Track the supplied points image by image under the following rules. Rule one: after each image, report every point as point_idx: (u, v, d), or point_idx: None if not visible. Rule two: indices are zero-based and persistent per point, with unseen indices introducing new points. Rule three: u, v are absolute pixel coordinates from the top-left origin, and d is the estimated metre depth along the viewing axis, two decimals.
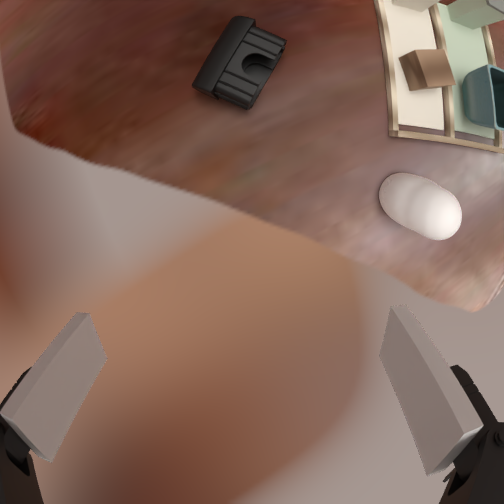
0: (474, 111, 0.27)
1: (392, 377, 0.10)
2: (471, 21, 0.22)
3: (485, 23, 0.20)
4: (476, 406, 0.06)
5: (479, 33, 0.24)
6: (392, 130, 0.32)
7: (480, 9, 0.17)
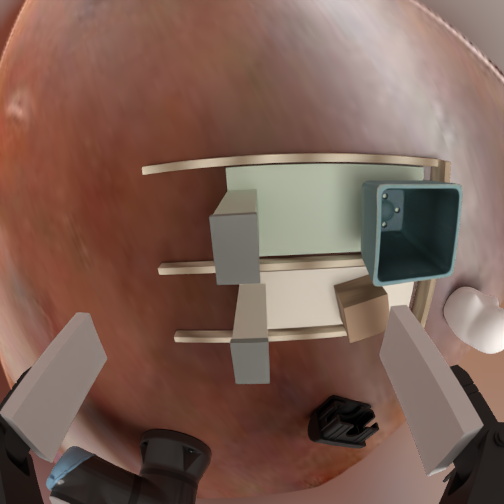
0: None
1: (392, 377, 0.10)
2: None
3: (256, 203, 0.26)
4: (476, 406, 0.06)
5: (257, 173, 0.29)
6: None
7: None
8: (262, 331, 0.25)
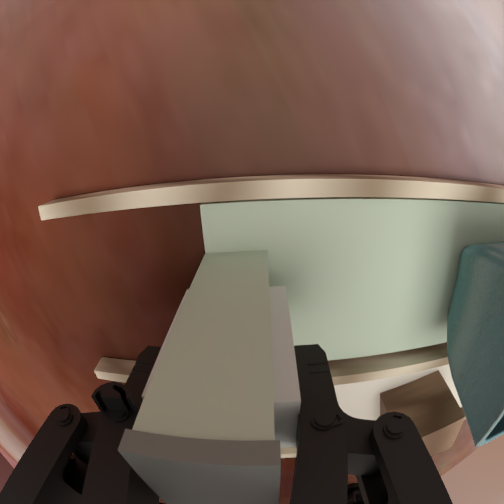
0: None
1: None
2: None
3: None
4: (318, 385, 0.08)
5: (269, 218, 0.13)
6: None
7: None
8: None
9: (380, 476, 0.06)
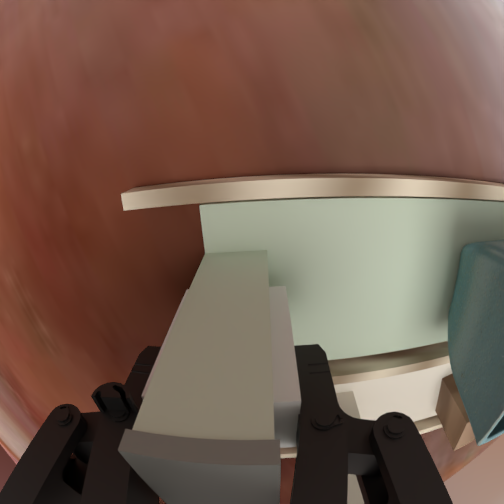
0: None
1: None
2: None
3: None
4: (318, 385, 0.08)
5: (269, 218, 0.13)
6: None
7: None
8: None
9: (380, 476, 0.06)
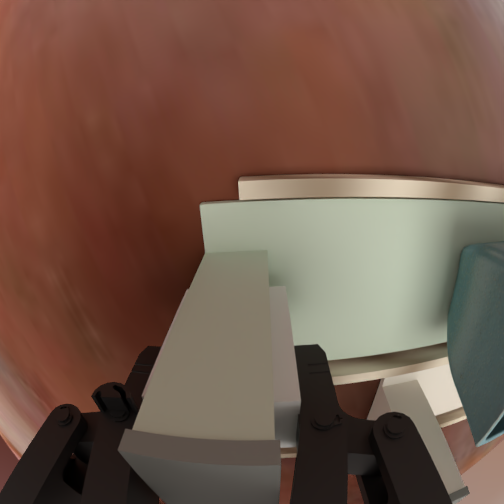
0: None
1: None
2: None
3: None
4: (318, 385, 0.08)
5: (269, 218, 0.13)
6: None
7: None
8: (455, 476, 0.09)
9: (380, 476, 0.06)
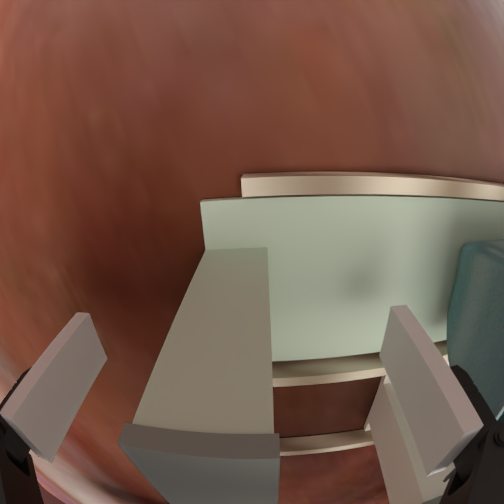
0: None
1: (392, 377, 0.10)
2: None
3: None
4: (476, 406, 0.06)
5: (269, 215, 0.13)
6: None
7: None
8: None
9: None
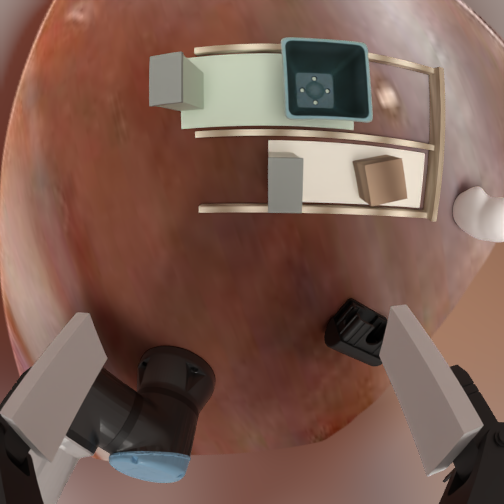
0: None
1: (392, 377, 0.10)
2: (198, 88, 0.30)
3: (195, 70, 0.28)
4: (476, 406, 0.06)
5: (204, 61, 0.31)
6: (426, 217, 0.36)
7: (188, 99, 0.26)
8: (296, 157, 0.27)
9: None
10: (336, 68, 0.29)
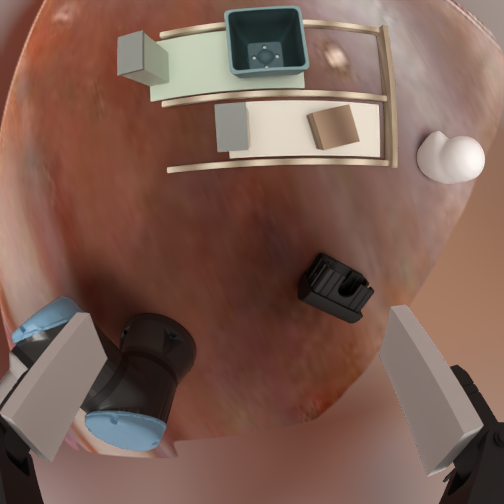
0: None
1: (392, 377, 0.10)
2: (163, 63, 0.32)
3: (159, 48, 0.30)
4: (476, 406, 0.06)
5: (169, 43, 0.33)
6: (387, 165, 0.38)
7: (150, 69, 0.28)
8: None
9: None
10: (283, 35, 0.31)
